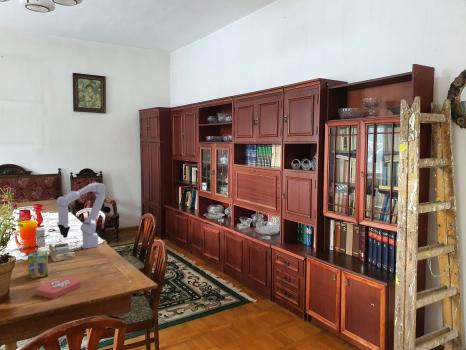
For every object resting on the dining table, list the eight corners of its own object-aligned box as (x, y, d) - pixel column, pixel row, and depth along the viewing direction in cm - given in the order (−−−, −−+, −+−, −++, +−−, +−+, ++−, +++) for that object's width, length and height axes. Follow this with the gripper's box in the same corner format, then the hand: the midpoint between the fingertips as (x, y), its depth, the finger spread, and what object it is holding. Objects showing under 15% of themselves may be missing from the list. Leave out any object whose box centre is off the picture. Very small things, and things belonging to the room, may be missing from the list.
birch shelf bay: (69, 251, 241) (69, 241, 240) (75, 258, 228) (75, 247, 227) (49, 254, 234) (49, 244, 233) (54, 261, 221) (53, 250, 220)
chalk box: (48, 276, 197) (47, 249, 195) (28, 279, 193) (27, 251, 191) (48, 271, 205) (47, 244, 204) (29, 273, 201) (28, 246, 200)
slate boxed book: (67, 254, 232) (67, 246, 232) (69, 256, 229) (68, 247, 229) (55, 256, 228) (55, 247, 228) (56, 258, 225) (56, 249, 224)
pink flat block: (61, 274, 191) (83, 279, 185) (61, 281, 191) (83, 286, 185) (30, 286, 175) (53, 292, 169) (30, 294, 175) (53, 300, 169)
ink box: (31, 247, 248) (30, 230, 247) (30, 246, 252) (29, 229, 251) (45, 246, 252) (44, 229, 251) (44, 244, 256) (43, 227, 255)
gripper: (54, 214, 241) (55, 234, 242) (58, 218, 229) (59, 239, 230) (65, 213, 245) (66, 233, 246) (71, 216, 233) (71, 238, 235)
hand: (63, 236), depth 239 cm, fingers open, 7 cm apart
